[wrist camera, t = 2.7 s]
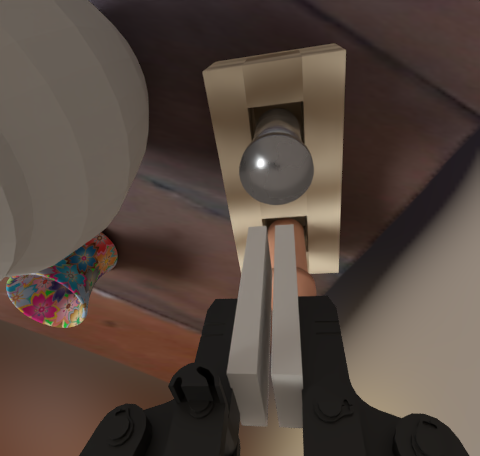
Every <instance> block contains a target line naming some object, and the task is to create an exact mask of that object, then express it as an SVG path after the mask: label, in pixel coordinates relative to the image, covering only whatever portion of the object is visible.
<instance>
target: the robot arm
mask: <svg viewBox="0 0 480 456" xmlns="http://www.w3.org/2000/svg"><path fill="white" fill-rule="evenodd" d="M271 299H272V267H271V259H270V251H269V243H268V234H267V226H256V227H249V228H248V234H247V241H246V248H245V254H244V261H243V268H242V274H241V281H240V287H239V294H238V299H215V301H214V302H213V304H212V305H211V306H210V308H209V309H208V310H207V314H206V318H205V322H204V326H203V330H202V337H201V338H200V343H199V347H198V351H197V355H196V359H195V363H190V364H188V365H186V366H184V367H182V368H181V369H179V370H178V372H177V373H176V374H175V375H174V376H173V377H172V379H171V381H170V383H169V386H168V387H169V389H170V391H171V393H172V395H173V397H174V399H173V400H171V401H169V402H167V403H164V404H161V405H158V406H155V407H152V408H149V409H146V410H143V409H142V408H140V407H139V406H137V405H136V404H124V405H121V406H118V407H116V408H115V409H113V410H112V411H110V412H109V413H108V414H107V415H106V416H105V417H104V419H103V420H102V421H101V422H100V424H99V425H98V427H97V428H96V430H95V431H94V433H93V435H92V436H91V438H90V440H89V441H88V443H87V444H86V446H85V447H84V449H83V450H82V452H81V454H80V455H79V456H240V440H239V436H238V433H239V422H240V420H241V424H242V425H246V426H247V425H248V426H267V419H268V388H269V387H268V386H269V359H270V329H271ZM271 377H272V383H273V390H274V395H275V401H276V408H277V414H278V420H279V427H289V428H303V444H304V456H469V455H468V453H467V451H466V450H465V448H464V447H463V445H462V443H461V442H460V440H459V439H458V438H457V436H456V435H455V434H454V433H453V432H452V431H451V429H450V428H449V427H448V426H446V425H445V424H444V423H442V422H441V421H439V420H438V419H437V418H434V417H431V416H428V415H426V414H410V415H408V416H405V417H404V418H399V417H396V416H394V415H391V414H388V413H386V412H383V411H380V410H378V409H376V408H373V407H371V406H369V405H368V404H367V403H366V402H364V401H363V400H362V399H361V398H360V397H359V396H358V395H357V394H356V393H355V391H354V389H353V387H352V385H351V382H350V379H349V374H348V369H347V363H346V358H345V353H344V347H343V342H342V336H341V331H340V326H339V320H338V315H337V310H336V307H335V305H334V304H333V303H332V301H331V300H330V299H329V297H328V296H298V287H297V271H296V255H295V239H294V224H289V225H275V248H274V284H273V320H272V356H271Z"/></svg>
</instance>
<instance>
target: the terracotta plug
mask: <svg viewBox="0 0 480 456" xmlns="http://www.w3.org/2000/svg"><path fill="white" fill-rule="evenodd" d="M289 224H294V239H295V255H296V271H297V287H298V296H316V287H315V281H314V279H313V277H312V276H311V275H310V274H309V273H308V268H307V258H306V249H305V239H304V230H303V227H302V225H301V224H300V223H299V222H298V221H296V220H294V219H291V218H281V219H278V220H276V221H274V222H273V223H272V224H271V225H270V226H269V229H268V243H269V251H270V259H271V267H272V299H271V309H272V310H273V284H274V248H275V225H289Z"/></svg>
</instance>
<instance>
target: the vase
mask: <svg viewBox="0 0 480 456" xmlns="http://www.w3.org/2000/svg"><path fill="white" fill-rule="evenodd" d="M148 132H149V101H148V91H147V86H146V82H145V77H144V74H143V72H142V70H141V67H140V65H139V62H138V60H137V58H136V56H135V54H134V52H133V51H132V49H131V47H130V46H129V44H128V42H127V41H126V39H125V38H124V37H123V36H122V35H121V33H120V32H119V31H118V30H117V28H116V27H115V26H114V25H113V24H112V23H111V22H110V21H109V20H108V19H107V18H106V17H105V16H104V15H103V14H102V13H101V12H100V11H99V10H98V9H97V8H96V7H95V6H94V5H93V4H91V3H90V2H89V1H88V0H0V281H1V280H2V279H3V278H4V277H9V276H18V275H25V274H31V273H36V272H39V271H41V270H44V269H46V268H49V267H51V266H54V265H55V264H57V263H58V262H59V261H61V260H62V259H64V258H65V257H67V256H68V255H70V254H71V253H72V252H74V251H75V250H77V249H78V248H80V247H81V246H83V245H84V244H85V243H87V242H88V241H90V240H91V239H93V238H94V237H95V236H96V235H98V234H99V233H100V232H102V231H103V230H104V229H106V228H107V226H108V225H109V224H110V222H111V221H112V220H113V219H114V217H115V216H116V215H117V213H118V212H119V210H120V208H121V206H122V203H123V201H124V199H125V197H126V195H127V193H128V191H129V188H130V186H131V184H132V182H133V180H134V178H135V176H136V174H137V171H138V169H139V167H140V164H141V162H142V159H143V157H144V154H145V151H146V145H147V139H148Z"/></svg>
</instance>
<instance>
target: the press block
mask: <svg viewBox="0 0 480 456" xmlns="http://www.w3.org/2000/svg"><path fill="white" fill-rule="evenodd" d="M345 68H346V50H345V49H343V48H342V47H340V46H339V45H337V44H335V43H333V44H326V45H320V46H314V47H307V48H301V49H294V50H288V51H281V52H275V53H268V54H262V55H256V56H249V57H243V58H236V59H230V60H223V61H217V62H214V63H213V64H212V65H210V66H209V67H208V68H207V69H205V70H204V71H203V72H202V73H203V78H204V83H205V88H206V93H207V99H208V104H209V109H210V114H211V119H212V124H213V130H214V135H215V140H216V145H217V150H218V156H219V161H220V166H221V171H222V176H223V181H224V187H225V192H226V197H227V202H228V207H229V212H230V218H231V223H232V228H233V233H234V238H235V243H236V249H237V254H238V259H239V264H240V269H241V274H242V268H243V261H244V254H245V248H246V241H247V234H248V228H249V227H256V226H267V234H268V229H269V226H270V225H271V224H272V223H273V222H274V221H276V220H278V219H281V218H291V219H294V220H296V221H298V222H299V223H300V224H301V225H302V227H303V230H304V239H305V249H306V258H307V268H308V273H309V274H314V273H338V272H339V243H340V214H341V185H342V155H343V126H344V97H345ZM274 108H283V109H286V110H288V111H290V112H291V113H293V114H294V116H295V117H296V118H297V120H298V123H299V128H300V135H301V141H302V142H303V143H304V144H305V145H306V146H307V148H308V149H309V151H310V153H311V156H312V160H313V165H314V175H313V180H312V182H311V185H310V186H309V188H308V189H307V191H306V192H305V193H304V194H303V195H302V196H301V197H300V198H298V199H297V200H295V201H293V202H290V203H287V204H283V205H269V204H265V203H262V202H259V201H257V200H256V199H254V198H253V197H251V196H250V195H249V194H248V193H247V192H246V190H245V189H244V187H243V185H242V183H241V181H240V176H239V167H240V162H241V158H242V155H243V153H244V151H245V149H246V148H247V146H248V145H249V144H250V143H251V142H252V141H253V138H254V134H255V129H256V124H257V122H258V120H259V118H260V117H261V116H262V114H264V113H265V112H266V111H268V110H270V109H274Z"/></svg>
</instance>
